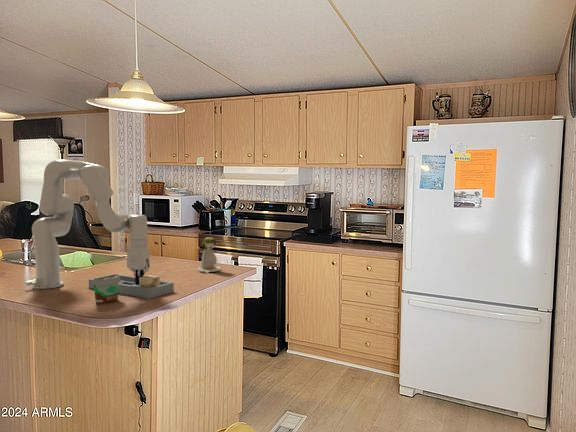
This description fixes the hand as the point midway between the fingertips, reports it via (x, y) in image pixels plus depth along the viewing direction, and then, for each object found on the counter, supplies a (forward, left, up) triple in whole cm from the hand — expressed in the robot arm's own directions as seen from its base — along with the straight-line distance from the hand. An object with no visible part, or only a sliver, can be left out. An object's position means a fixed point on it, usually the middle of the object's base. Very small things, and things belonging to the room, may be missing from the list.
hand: (139, 284), depth 196 cm
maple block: (0, -6, -1) cm, 6 cm away
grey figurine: (+52, +3, -3) cm, 52 cm away
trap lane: (0, +6, -3) cm, 6 cm away
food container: (-18, -3, -3) cm, 19 cm away
